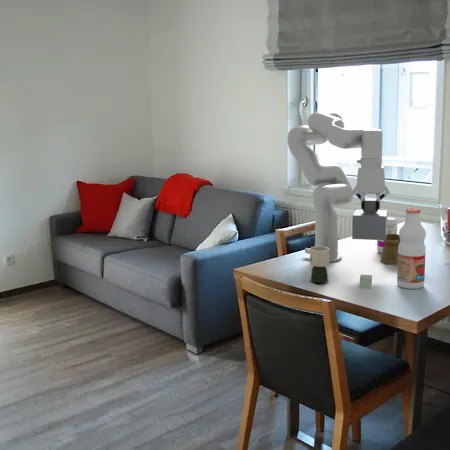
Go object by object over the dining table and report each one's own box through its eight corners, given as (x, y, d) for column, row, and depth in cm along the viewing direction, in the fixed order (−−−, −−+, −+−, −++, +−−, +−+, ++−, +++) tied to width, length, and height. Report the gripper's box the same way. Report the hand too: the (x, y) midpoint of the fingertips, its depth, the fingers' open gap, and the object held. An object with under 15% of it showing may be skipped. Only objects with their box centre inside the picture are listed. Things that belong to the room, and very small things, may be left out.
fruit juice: (398, 280, 224) (400, 206, 218) (425, 282, 220) (428, 207, 215) (395, 288, 215) (397, 211, 210) (423, 290, 212) (426, 212, 206)
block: (359, 288, 217) (359, 277, 216) (360, 284, 221) (360, 274, 220) (370, 289, 216) (371, 278, 215) (371, 285, 219) (372, 275, 219)
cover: (352, 238, 226) (352, 202, 223) (355, 231, 237) (355, 196, 234) (385, 240, 223) (386, 202, 220) (386, 233, 234) (387, 197, 231)
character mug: (314, 277, 231) (314, 244, 229) (332, 278, 228) (332, 245, 226) (305, 285, 222) (305, 251, 219) (324, 287, 219) (325, 252, 216)
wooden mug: (411, 267, 241) (413, 222, 237) (378, 263, 247) (379, 220, 244) (416, 261, 248) (418, 218, 245) (383, 258, 255) (385, 216, 251)
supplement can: (375, 253, 262) (376, 219, 259) (378, 249, 269) (379, 216, 266) (395, 255, 259) (396, 220, 256) (397, 250, 266) (398, 217, 263)
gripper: (347, 163, 223) (346, 212, 227) (394, 164, 218) (392, 213, 222) (349, 161, 230) (348, 208, 234) (395, 161, 225) (393, 210, 229)
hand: (370, 210), depth 228 cm, fingers closed on cover, 4 cm apart
